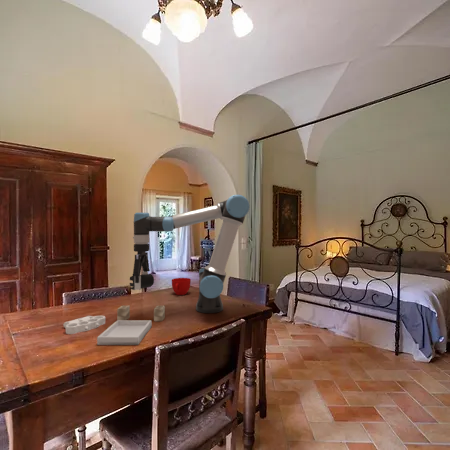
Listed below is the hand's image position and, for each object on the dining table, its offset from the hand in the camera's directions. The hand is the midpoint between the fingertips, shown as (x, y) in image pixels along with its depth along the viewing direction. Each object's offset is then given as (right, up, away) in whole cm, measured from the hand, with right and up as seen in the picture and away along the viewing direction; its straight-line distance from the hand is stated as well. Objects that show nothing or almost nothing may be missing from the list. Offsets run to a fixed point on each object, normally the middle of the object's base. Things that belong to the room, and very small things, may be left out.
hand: (141, 286), depth 142 cm
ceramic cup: (+11, -17, +51) cm, 55 cm away
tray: (0, -16, -21) cm, 26 cm away
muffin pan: (-23, -17, -11) cm, 31 cm away
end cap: (0, -1, 0) cm, 1 cm away
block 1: (-9, -16, 0) cm, 19 cm away
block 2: (+9, -16, 0) cm, 19 cm away
